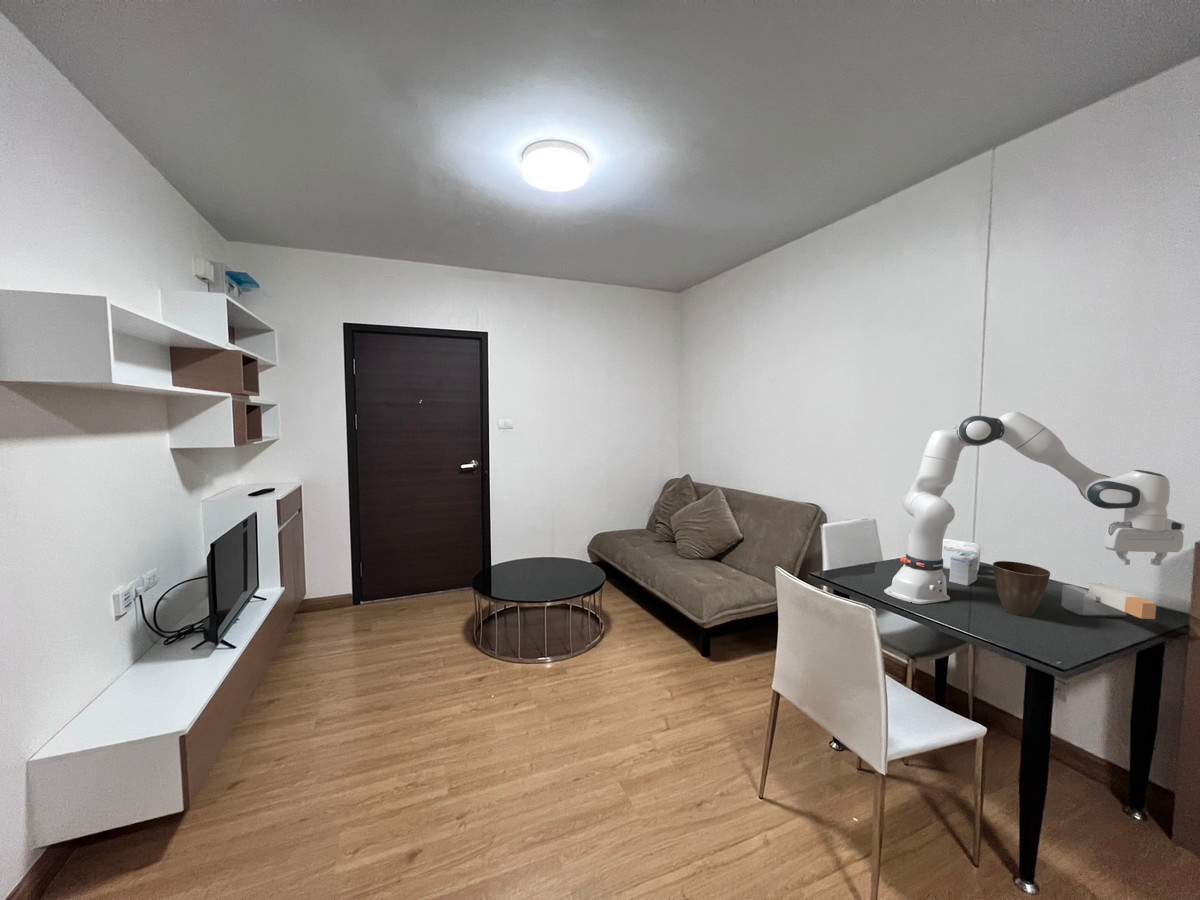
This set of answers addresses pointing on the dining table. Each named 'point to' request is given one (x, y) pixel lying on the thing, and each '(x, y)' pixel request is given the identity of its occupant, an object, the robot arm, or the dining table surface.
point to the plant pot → (1020, 586)
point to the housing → (1086, 603)
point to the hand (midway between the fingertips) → (1140, 564)
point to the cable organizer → (958, 550)
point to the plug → (1123, 601)
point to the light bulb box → (963, 568)
